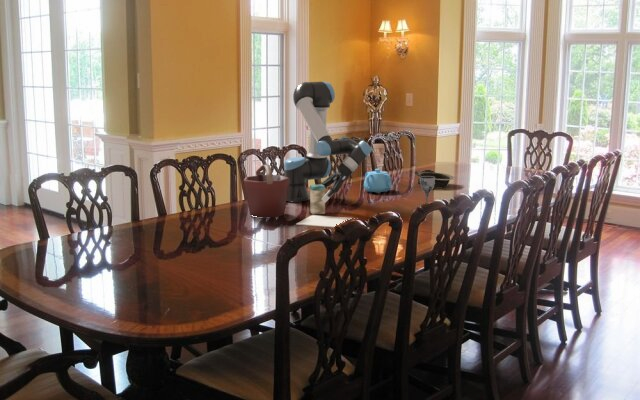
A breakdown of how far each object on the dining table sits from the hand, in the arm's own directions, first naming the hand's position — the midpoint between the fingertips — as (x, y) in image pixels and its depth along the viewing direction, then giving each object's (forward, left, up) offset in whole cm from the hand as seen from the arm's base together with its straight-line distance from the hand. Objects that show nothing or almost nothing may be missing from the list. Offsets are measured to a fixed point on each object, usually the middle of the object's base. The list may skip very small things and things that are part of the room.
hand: (319, 198), depth 343 cm
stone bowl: (+39, +96, -8) cm, 104 cm away
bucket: (-23, -12, -8) cm, 27 cm away
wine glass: (+47, +36, -8) cm, 60 cm away
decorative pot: (+11, +67, -8) cm, 69 cm away
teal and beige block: (-1, 0, -7) cm, 7 cm away
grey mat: (+11, -18, -7) cm, 22 cm away
